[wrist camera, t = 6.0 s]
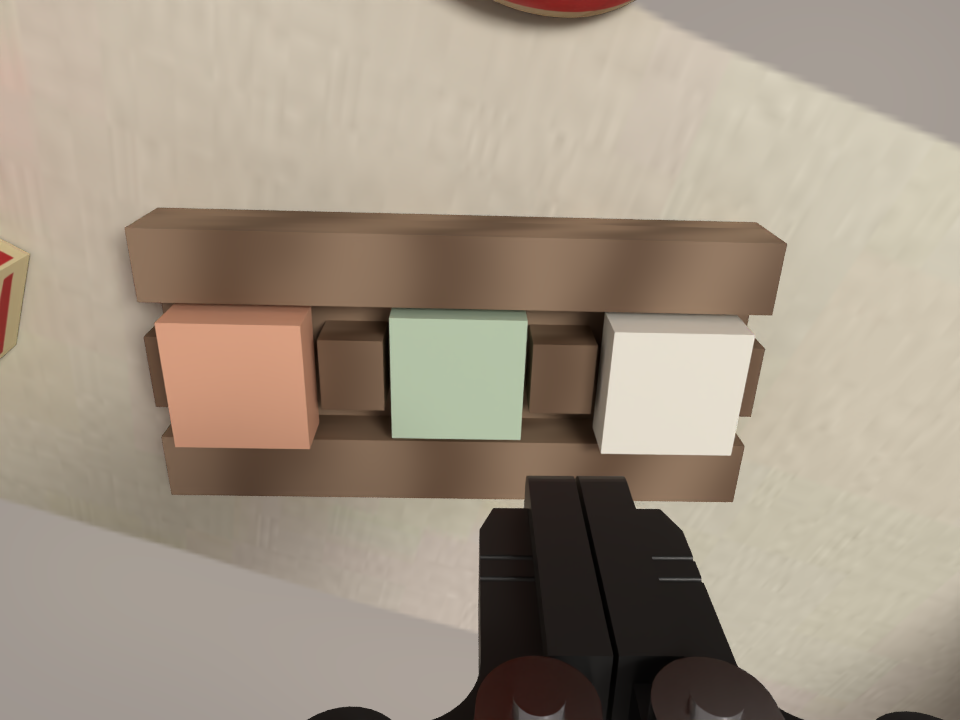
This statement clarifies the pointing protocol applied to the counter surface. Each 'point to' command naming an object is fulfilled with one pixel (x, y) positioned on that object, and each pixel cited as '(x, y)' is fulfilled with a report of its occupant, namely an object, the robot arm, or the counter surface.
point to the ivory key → (670, 383)
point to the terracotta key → (239, 375)
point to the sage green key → (457, 373)
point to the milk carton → (11, 293)
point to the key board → (450, 285)
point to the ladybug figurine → (565, 7)
